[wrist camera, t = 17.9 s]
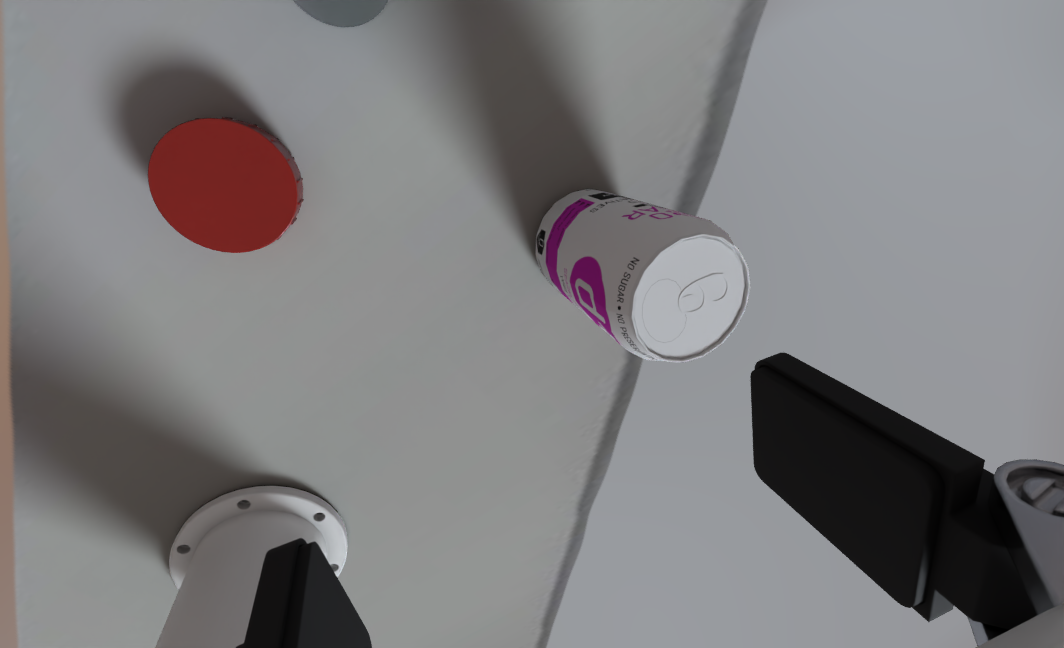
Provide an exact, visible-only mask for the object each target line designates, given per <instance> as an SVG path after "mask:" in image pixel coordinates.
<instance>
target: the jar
mask: <svg viewBox="0 0 1064 648" xmlns="http://www.w3.org/2000/svg"><path fill="white" fill-rule="evenodd" d="M293 1H294V2H295V3H296V4H297V5H298V6H299V7H300V8H301V9H302V10H303V11H304V12H306V13H307V14H308V15H310V16H311V17H313V18H315V19H317V20H319V21H321V22H323V23H326V24H329V25H332V26H337V27H354V26H359V25H362V24H364V23H367V22H369V21H370V20H372V19H374V18H375V17H376V16H377V15H378V14H379V13H380V12H381V11H382V10H383V9H384V7H385V6H386V4H387V3H388V0H293Z"/></svg>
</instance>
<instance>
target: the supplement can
mask: <svg viewBox="0 0 1064 648" xmlns="http://www.w3.org/2000/svg"><path fill="white" fill-rule="evenodd" d="M536 258H537V261H538V264H539V267H540V270H541V272H542V274H543V275H544V276H545V277H546V279H547V280H548V281H549V282H550V283H551V285H552V286H554V287H555V288H556V289H557V290H558V291H559V292H560V293H562V294H563V295H564V296H565V297H566V298H567V299H569V300H570V301H571V302H572V303H573V304H574V305H575V306H577V307H578V308H579V309H580V310H581V311H582V312H583V313H585V314H586V315H587V316H588V317H589V318H590V319H592V320H593V321H594V322H595V323H596V324H597V325H598V326H600V327H601V328H602V329H603V330H604V331H605V332H607V333H608V334H609V335H610V336H611V337H612V338H613V339H615V340H616V341H617V342H618V343H619V344H620V345H622V346H623V347H624V348H625V349H626V350H627V351H629V352H631V353H633V354H635V355H637V356H639V357H641V358H643V359H645V360H656V361H668V362H687V361H690V360H694V359H697V358H700V357H703V356H705V355H707V354H708V353H710V352H711V351H712V350H714V349H716V348H717V347H719V346H720V345H721V344H722V343H723V342H724V341H725V340H726V339H727V338H728V337H729V335H730V334H731V333H732V332H733V331H734V330H735V329H736V327H737V325H738V323H739V321H740V319H741V317H742V315H743V313H744V311H745V309H746V306H747V301H748V296H749V291H750V280H749V271H748V265H747V263H746V261H745V260H744V258H743V256H742V254H741V252H740V251H739V249H738V248H737V247H735V246H734V244H733V242H732V241H731V239H730V237H729V235H728V234H727V233H726V232H725V231H723V230H722V229H721V228H720V227H718V226H717V225H715V224H714V223H712V222H711V221H710V220H706V219H702V218H699V217H695V216H692V215H688V214H685V213H681V212H677V211H674V210H670V209H666V208H663V207H659V206H656V205H652V204H648V203H645V202H641V201H637V200H634V199H630V198H626V197H623V196H619V195H616V194H612V193H608V192H604V191H599V190H594V189H586V190H581V191H576V192H572V193H570V194H568V195H567V196H565V197H563V198H562V199H560V200H559V201H557V202H555V204H554V205H553V206H552V207H551V209H550V210H549V211H548V212H547V213H546V215H545V216H544V217H543V219H542V222H541V225H540V227H539V230H538V232H537V235H536Z"/></svg>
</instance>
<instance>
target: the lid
mask: <svg viewBox="0 0 1064 648" xmlns="http://www.w3.org/2000/svg"><path fill="white" fill-rule="evenodd" d="M278 140H279V139H278V138H275V137H273V136H272V135H271V134H269V133H268V132H266V131H264V130H263V129H261V128H259V127H257V125H256V124H250V123H246V122H243V121H239V120H233V119H232V118H227V117H222V119H218V118H203V119H199V118H196V119H195V120H191V121H188V122H185V123H182V124H180V125H178V126H176V127H175V128H173V129H171V130H170V131H169V132H167V133H166V134H165V135H164V136H163V137H162V138H161V139H160V140H159V142H158V143H157V145H156V146H155V148H154V150H153V152H152V155H151V158H150V162H149V167H148V182H149V187H150V192H151V194H152V197H153V200H154V202H155V204H156V206H157V208H158V210H159V211H160V213H161V214H162V215H163V217H164V218H165V219H166V220H167V222H168V223H169V224H170V225H171V226H172V227H173V228H174V229H175V230H177V231H178V232H179V233H180V234H182V235H183V236H184V237H186V238H187V239H189V240H191V241H193V242H194V243H196V244H199V245H201V246H203V247H206V248H209V249H212V250H217V251H221V252H230V253H241V252H249V251H253V250H257V249H260V248H263V247H265V246H267V245H269V244H271V243H272V242H274V241H275V240H278V239H279V238H280V237H281V236H282V234H283V233H284V232H285V231H286V230H287V229H288V227H289V226H290V225H291V224H293V223H294V222H295V220H296V219H297V218H296V216H297V214H298V212H299V210H300V207H301V204H302V202H303V200H304V199H302V198H303V185H302V180H303V178H301V175H300V172H299V169H298V167H297V164H296V163H295V161H294V157H292V156H291V154H290V153H289V151H288V150H287V149H286V148H285V147H284V146H283V145H282V143H280V142H279V141H278Z"/></svg>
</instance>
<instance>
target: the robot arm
mask: <svg viewBox="0 0 1064 648" xmlns="http://www.w3.org/2000/svg"><path fill="white" fill-rule="evenodd" d="M751 402H752V428H753V451H754V452H753V455H754V467H755V470H756V472H757V474H758V476H759V477H760V479H761V480H762V481H763V482H764V483H765V484H766V485H767V486H769V487H770V488H771V489H772V490H773V491H774V492H775V493H776V494H778V495H779V496H780V497H781V498H782V499H783V500H784V501H785V502H786V503H788V504H789V505H790V506H791V507H792V508H793V509H794V510H795V511H796V512H798V513H799V514H800V515H801V516H802V517H803V518H804V519H805V520H806V521H808V522H809V523H810V524H811V525H812V526H813V527H814V528H815V529H816V530H818V531H819V532H820V533H821V534H822V535H823V536H824V537H826V538H827V539H828V540H829V541H830V542H831V543H832V544H833V545H834V546H835V547H837V548H838V549H839V550H840V551H841V552H842V553H843V554H844V555H846V556H847V557H848V558H849V559H850V560H851V561H852V562H853V563H854V564H856V565H857V566H858V567H859V568H860V569H861V570H862V571H863V572H864V573H865V574H867V575H868V576H869V577H870V578H871V579H872V580H873V581H874V582H875V583H877V584H878V585H879V586H880V587H881V588H882V589H883V590H884V591H886V592H887V593H888V594H889V595H890V596H891V597H892V598H894V600H896V601H897V602H898V603H900V604H901V605H903V606H905V607H908V608H911V607H912V608H913V609H914V610H916V611H917V612H918V613H919V614H920V615H921V616H922V617H924V618H925V619H926V620H927V621H928V622H930V621H931V620H934V619H935V618H937V617H939V616H941V615H943V614H945V613H947V612H949V611H950V610H952V609H953V605H954V606H955V607H957V608H958V609H959V610H960V611H962V612H963V613H964V614H965V615H966V616H967V617H968V620H969V622H970V625H971V628H972V631H973V634H974V637H975V640H976V643H977V646H978V647H976V648H1064V465H1062V464H1059V463H1055V462H1049V461H1043V460H1016V461H1011V462H1006V463H1005V464H1003V465H1002V466H1000V467H998V468H997V470H996V472H995V474H992V473H990V472H989V471H987V470H985V469H983V467H984V462H985V460H984V459H982V458H980V457H978V456H976V455H974V454H972V453H970V452H969V451H967V450H965V449H963V448H961V447H959V446H957V445H956V444H954V443H952V442H950V441H948V440H947V439H945V438H943V437H941V436H939V435H937V434H935V433H934V432H932V431H930V430H928V429H926V428H924V427H922V426H921V425H919V424H917V423H915V422H913V421H911V420H910V419H908V418H906V417H904V416H902V415H900V414H898V413H897V412H895V411H893V410H891V409H889V408H887V407H885V406H883V405H882V404H880V403H878V402H876V401H874V400H872V399H870V398H869V397H867V396H865V395H863V394H861V393H859V392H858V391H856V390H854V389H852V388H850V387H848V386H847V385H845V384H843V383H841V382H839V381H837V380H835V379H834V378H832V377H830V376H828V375H826V374H824V373H822V372H821V371H819V370H817V369H815V368H813V367H811V366H810V365H807V364H806V363H804V362H802V361H800V360H798V359H796V358H795V357H793V356H791V355H789V354H787V353H779V354H776V355H773V356H771V357H768V358H765V359H763V360H760V361H758V362H757V363H756V365H755V370H754V371H752V373H751ZM347 549H348V536H347V532H346V528H345V524H344V523H343V521H342V519H341V517H340V515H339V514H338V513H337V512H336V511H335V510H334V509H333V507H332V506H331V505H329V504H328V503H326V502H325V501H324V500H322V499H321V498H319V497H317V496H315V495H313V494H311V493H308V492H306V491H302V490H298V489H295V488H291V487H282V486H256V487H251V488H245V489H240V490H236V491H233V492H230V493H227V494H224V495H222V496H220V497H218V498H216V499H214V500H212V501H210V502H208V503H206V504H205V505H204V506H202V507H201V508H200V509H198V510H197V511H196V512H194V513H193V514H192V516H191V517H190V518H189V519H188V520H187V521H186V522H185V523H184V524H183V526H182V528H181V529H180V531H179V533H178V535H177V536H176V539H175V541H174V543H173V545H172V548H171V552H170V558H169V568H170V575H171V577H172V580H173V582H174V584H175V586H176V588H177V589H178V590H179V591H178V594H177V596H176V599H175V601H174V604H173V606H172V608H171V611H170V613H169V616H168V618H167V620H166V623H165V625H164V628H163V630H162V633H161V635H160V637H159V640H158V642H157V645H156V647H155V648H372V645H371V640H370V636H369V633H368V631H367V629H366V627H365V626H364V624H363V622H362V620H361V619H360V617H359V615H358V613H357V612H356V610H355V608H354V606H353V604H352V603H351V601H350V599H349V597H348V596H347V594H346V592H345V590H344V589H343V587H342V585H341V583H340V582H339V580H338V578H337V577H338V576H339V574H340V573H341V571H342V569H343V566H344V563H345V561H346V556H347Z"/></svg>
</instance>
